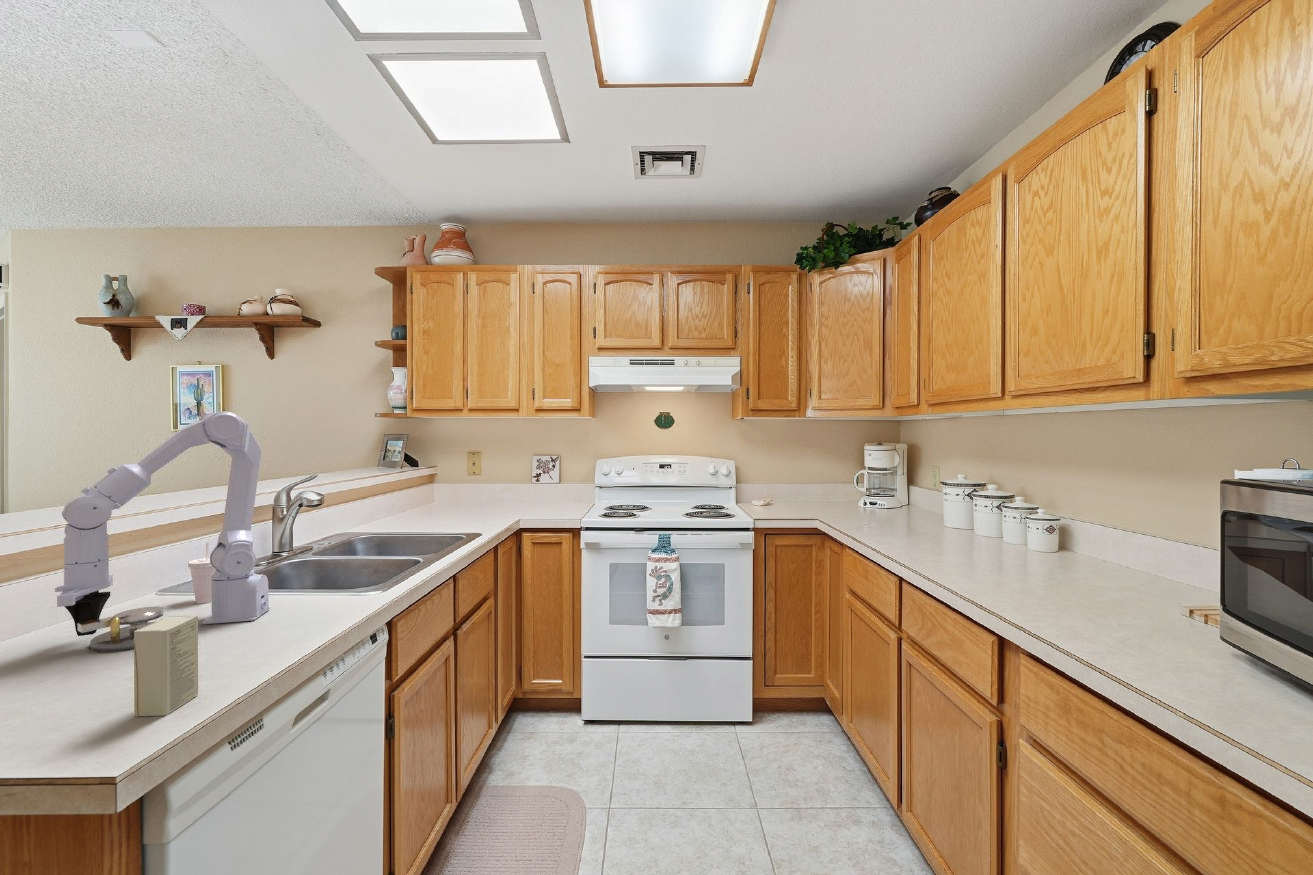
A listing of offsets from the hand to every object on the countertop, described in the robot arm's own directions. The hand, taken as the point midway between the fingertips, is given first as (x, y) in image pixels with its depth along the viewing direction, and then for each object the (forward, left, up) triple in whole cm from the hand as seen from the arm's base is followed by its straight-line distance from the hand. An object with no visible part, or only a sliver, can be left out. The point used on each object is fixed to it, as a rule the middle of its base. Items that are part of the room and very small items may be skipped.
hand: (86, 634), depth 100 cm
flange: (-5, -1, +1) cm, 5 cm away
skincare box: (-28, +30, -3) cm, 41 cm away
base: (-6, -3, -3) cm, 7 cm away
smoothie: (-6, -27, -3) cm, 28 cm away
